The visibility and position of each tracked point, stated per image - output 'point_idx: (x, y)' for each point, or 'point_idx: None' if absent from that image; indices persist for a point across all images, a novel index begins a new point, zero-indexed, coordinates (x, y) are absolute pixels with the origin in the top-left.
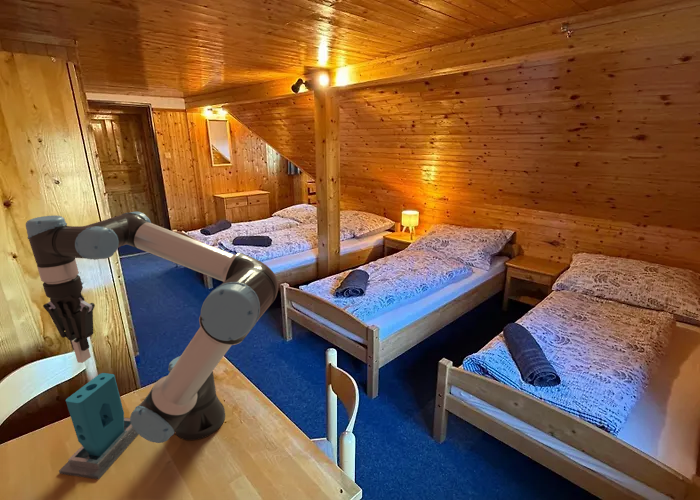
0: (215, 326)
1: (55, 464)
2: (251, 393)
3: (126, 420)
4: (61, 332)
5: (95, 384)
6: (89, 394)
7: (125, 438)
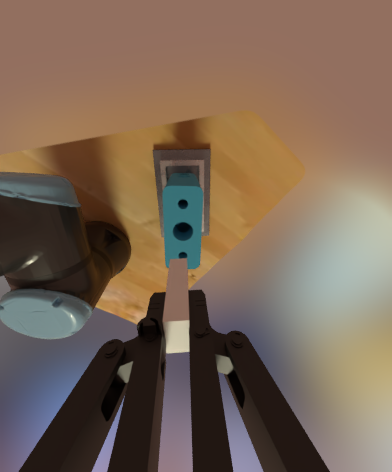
0: None
1: (226, 160)
2: None
3: None
4: (244, 360)
5: (183, 240)
6: (166, 212)
7: None
